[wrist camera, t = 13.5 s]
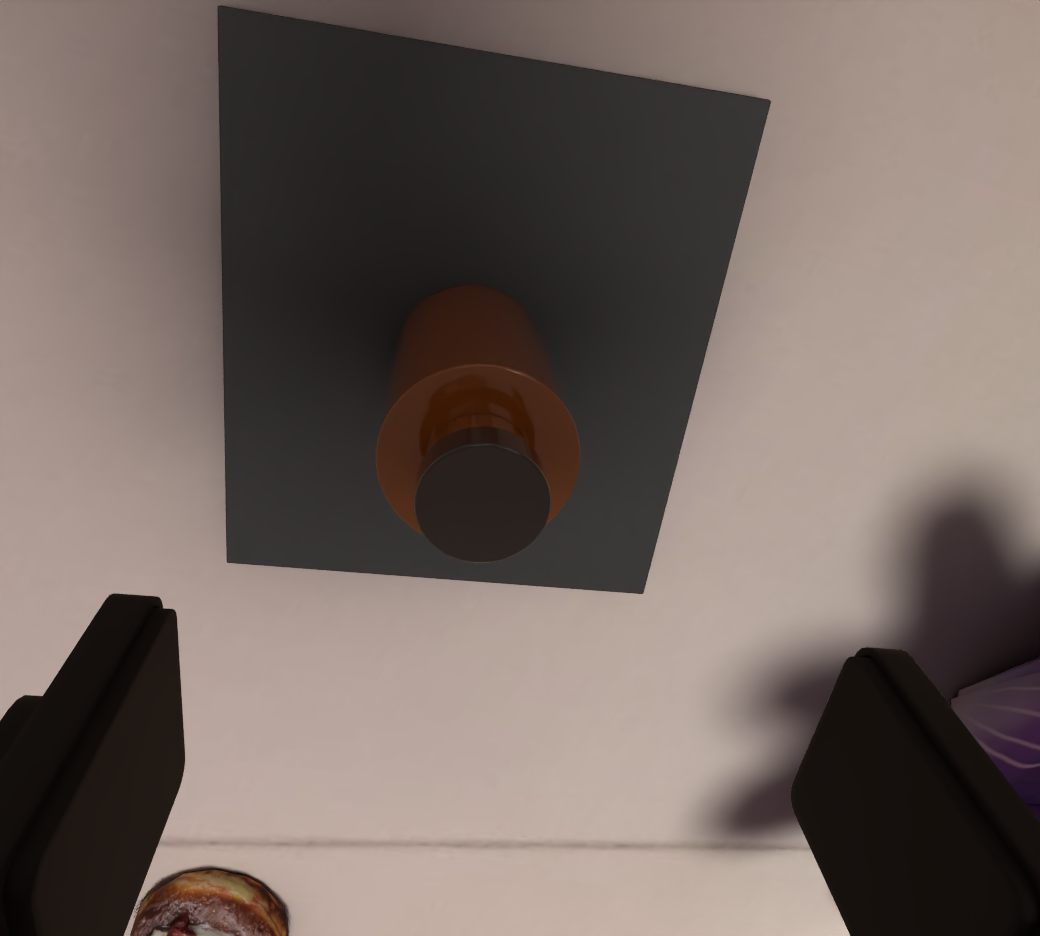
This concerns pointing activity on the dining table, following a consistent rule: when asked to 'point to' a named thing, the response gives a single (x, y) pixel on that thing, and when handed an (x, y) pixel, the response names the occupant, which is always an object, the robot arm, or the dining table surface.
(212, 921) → the pastry
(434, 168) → the mat
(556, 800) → the dining table surface
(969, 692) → the decorative flower
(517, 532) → the spice bottle
